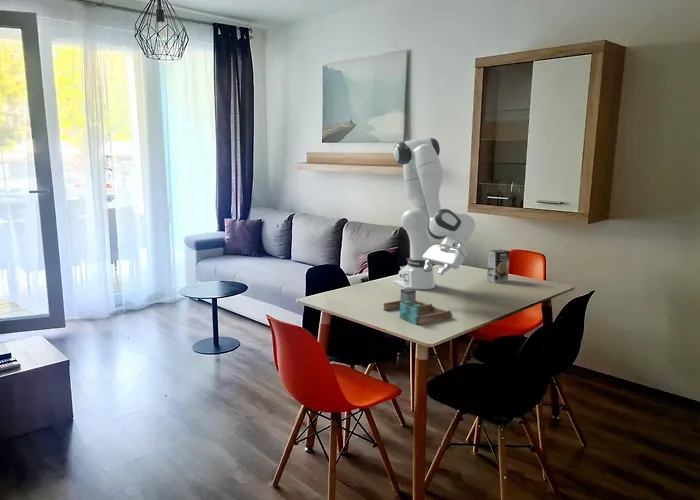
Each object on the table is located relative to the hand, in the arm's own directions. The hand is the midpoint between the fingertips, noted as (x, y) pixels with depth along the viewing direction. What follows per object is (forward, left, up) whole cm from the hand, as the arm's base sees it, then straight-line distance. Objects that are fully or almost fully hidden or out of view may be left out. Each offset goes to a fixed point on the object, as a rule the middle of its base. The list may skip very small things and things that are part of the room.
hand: (432, 271), depth 221 cm
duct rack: (+5, -13, -15) cm, 21 cm away
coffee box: (-18, +61, -15) cm, 65 cm away
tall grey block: (0, -13, -15) cm, 20 cm away
